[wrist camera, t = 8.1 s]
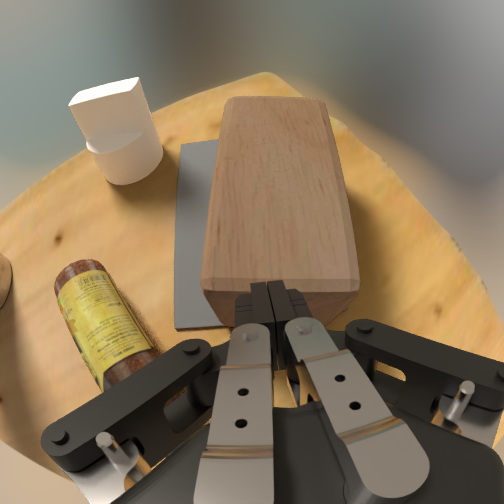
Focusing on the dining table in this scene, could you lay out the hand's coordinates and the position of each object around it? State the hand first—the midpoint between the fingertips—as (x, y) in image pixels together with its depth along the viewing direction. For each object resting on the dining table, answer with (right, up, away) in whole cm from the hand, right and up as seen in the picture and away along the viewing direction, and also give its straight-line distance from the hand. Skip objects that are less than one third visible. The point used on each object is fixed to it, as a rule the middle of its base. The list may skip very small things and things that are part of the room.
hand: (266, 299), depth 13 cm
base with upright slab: (-17, +15, +23) cm, 32 cm away
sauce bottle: (-18, 0, +12) cm, 21 cm away
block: (+1, -3, +7) cm, 8 cm away
